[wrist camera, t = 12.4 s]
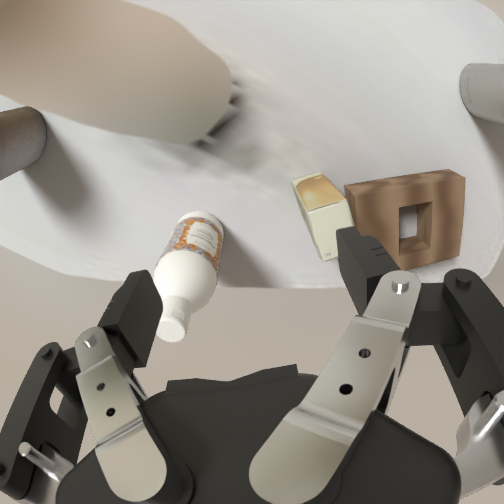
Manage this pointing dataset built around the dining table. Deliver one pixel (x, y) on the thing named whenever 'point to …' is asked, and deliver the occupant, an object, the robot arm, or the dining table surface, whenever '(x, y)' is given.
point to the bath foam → (187, 272)
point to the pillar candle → (20, 139)
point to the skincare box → (322, 212)
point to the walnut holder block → (429, 215)
